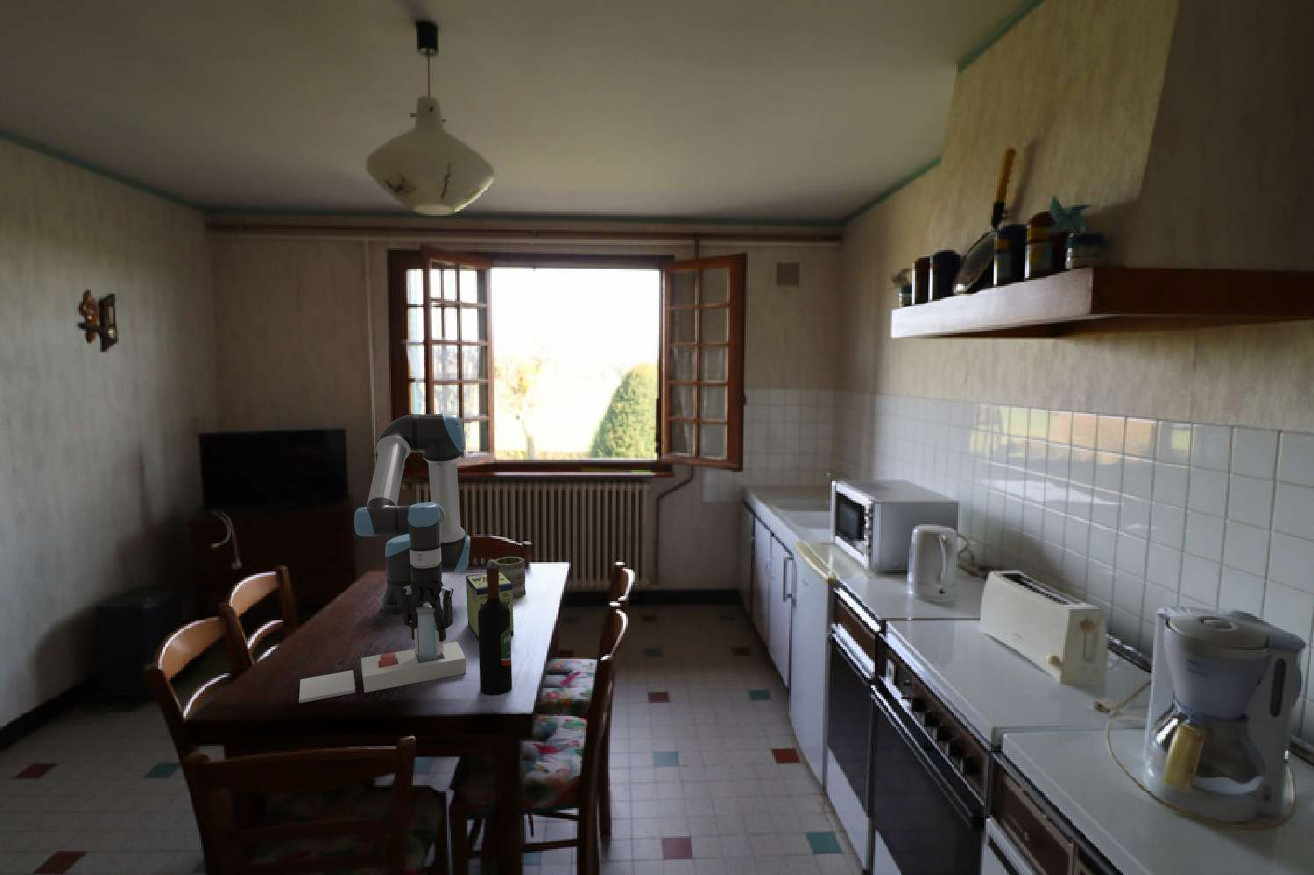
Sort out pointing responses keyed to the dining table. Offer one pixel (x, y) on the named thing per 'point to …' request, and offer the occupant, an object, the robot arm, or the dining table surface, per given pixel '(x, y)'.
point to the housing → (411, 668)
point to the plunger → (388, 659)
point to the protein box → (485, 598)
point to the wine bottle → (494, 640)
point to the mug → (512, 573)
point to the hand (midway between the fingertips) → (429, 652)
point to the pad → (326, 686)
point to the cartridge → (427, 633)
